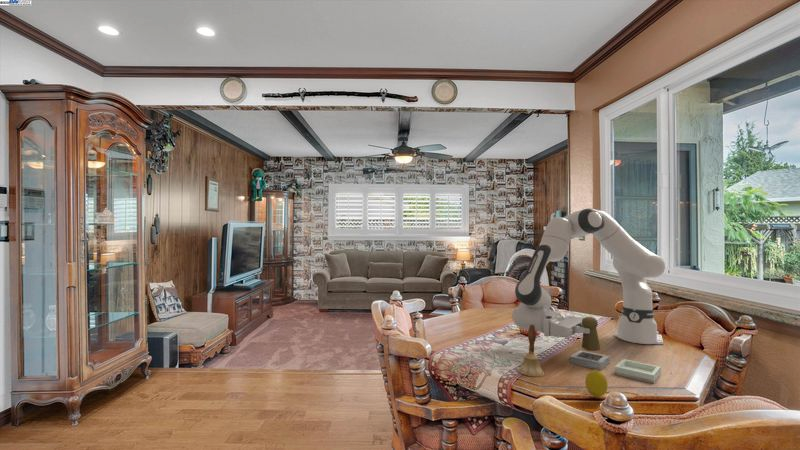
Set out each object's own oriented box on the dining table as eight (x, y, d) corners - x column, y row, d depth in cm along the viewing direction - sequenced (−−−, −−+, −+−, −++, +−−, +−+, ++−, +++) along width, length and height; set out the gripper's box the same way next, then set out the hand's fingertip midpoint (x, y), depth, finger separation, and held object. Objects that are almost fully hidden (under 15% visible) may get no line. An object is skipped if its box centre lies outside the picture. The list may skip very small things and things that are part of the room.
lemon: (593, 402, 105) (594, 373, 105) (581, 394, 111) (581, 366, 111) (612, 401, 106) (612, 372, 106) (598, 393, 112) (598, 365, 112)
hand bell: (541, 369, 131) (542, 322, 132) (546, 378, 123) (546, 328, 123) (516, 367, 133) (517, 321, 133) (519, 376, 125) (520, 326, 125)
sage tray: (623, 366, 135) (623, 358, 135) (660, 374, 128) (660, 366, 128) (614, 374, 127) (614, 366, 127) (653, 383, 120) (653, 375, 120)
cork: (602, 350, 136) (601, 320, 135) (584, 350, 137) (582, 321, 136) (597, 343, 142) (595, 315, 141) (579, 343, 143) (578, 315, 142)
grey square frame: (579, 356, 145) (579, 350, 145) (609, 363, 138) (609, 356, 138) (570, 363, 138) (570, 356, 138) (600, 370, 130) (600, 363, 131)
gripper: (563, 326, 155) (600, 332, 145) (542, 336, 140) (582, 344, 130) (563, 310, 155) (600, 316, 145) (542, 319, 140) (582, 326, 130)
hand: (592, 329), depth 138 cm, fingers closed on cork, 3 cm apart
